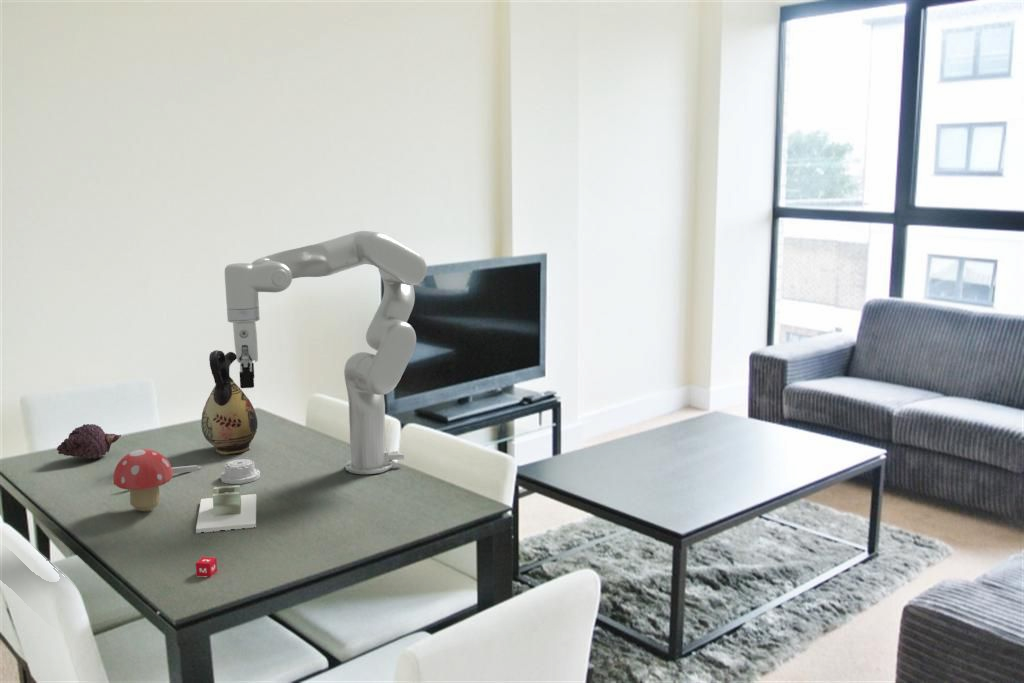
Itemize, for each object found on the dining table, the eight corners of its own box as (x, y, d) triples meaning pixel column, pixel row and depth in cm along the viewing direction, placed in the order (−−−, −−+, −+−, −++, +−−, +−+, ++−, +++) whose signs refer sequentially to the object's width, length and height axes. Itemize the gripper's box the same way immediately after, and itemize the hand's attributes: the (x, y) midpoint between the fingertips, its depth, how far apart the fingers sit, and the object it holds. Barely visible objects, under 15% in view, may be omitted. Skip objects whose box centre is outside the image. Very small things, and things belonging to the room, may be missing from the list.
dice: (196, 576, 194) (195, 563, 193) (203, 570, 196) (202, 556, 196) (210, 577, 193) (209, 563, 193) (217, 571, 196) (216, 557, 195)
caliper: (135, 491, 244) (133, 467, 243) (133, 490, 245) (131, 466, 244) (202, 469, 261) (200, 447, 260) (199, 468, 261) (198, 446, 260)
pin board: (256, 497, 238) (255, 476, 237) (256, 527, 219) (254, 504, 218) (201, 502, 235) (199, 481, 234) (196, 533, 216) (194, 510, 215)
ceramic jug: (217, 441, 285) (210, 342, 280) (267, 443, 283) (261, 343, 278) (191, 459, 269) (183, 354, 263) (243, 461, 267) (236, 355, 261)
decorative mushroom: (105, 512, 229) (99, 452, 226) (157, 497, 239) (152, 439, 236) (134, 525, 221) (129, 463, 218) (186, 509, 231) (182, 449, 228)
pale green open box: (241, 504, 230) (239, 485, 229) (240, 513, 225) (239, 493, 224) (215, 507, 229) (213, 487, 228) (213, 516, 223) (212, 495, 222)
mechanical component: (213, 484, 249) (249, 486, 247) (212, 467, 248) (248, 469, 246) (232, 471, 259) (266, 473, 257) (231, 456, 258) (265, 458, 256)
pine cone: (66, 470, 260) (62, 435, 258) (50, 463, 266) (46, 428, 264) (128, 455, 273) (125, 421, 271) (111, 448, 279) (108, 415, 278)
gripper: (259, 319, 226) (263, 390, 229) (259, 308, 242) (263, 374, 245) (226, 321, 224) (230, 392, 227) (228, 309, 240) (232, 376, 244)
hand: (247, 383), depth 236 cm, fingers open, 9 cm apart
